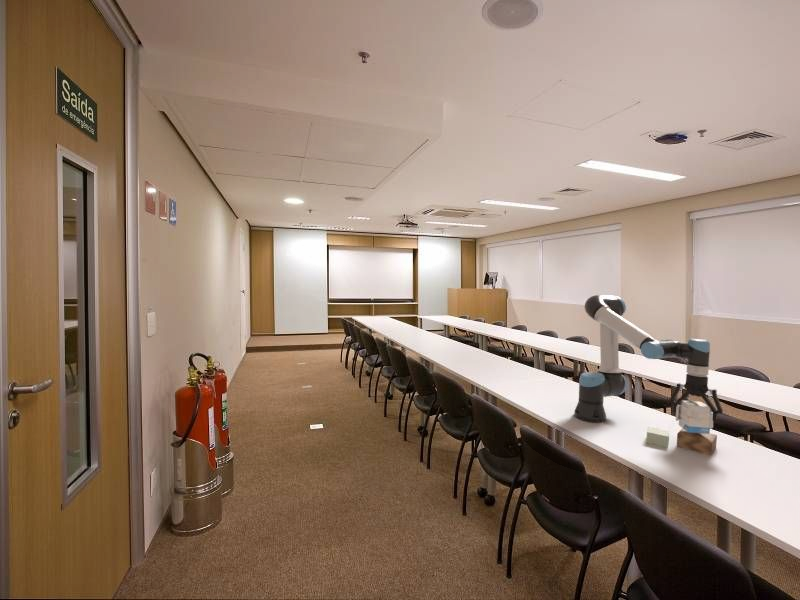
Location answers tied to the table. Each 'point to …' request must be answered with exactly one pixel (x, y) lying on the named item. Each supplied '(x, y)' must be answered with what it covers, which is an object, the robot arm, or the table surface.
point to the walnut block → (697, 441)
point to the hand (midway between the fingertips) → (693, 423)
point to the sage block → (657, 437)
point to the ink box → (694, 416)
